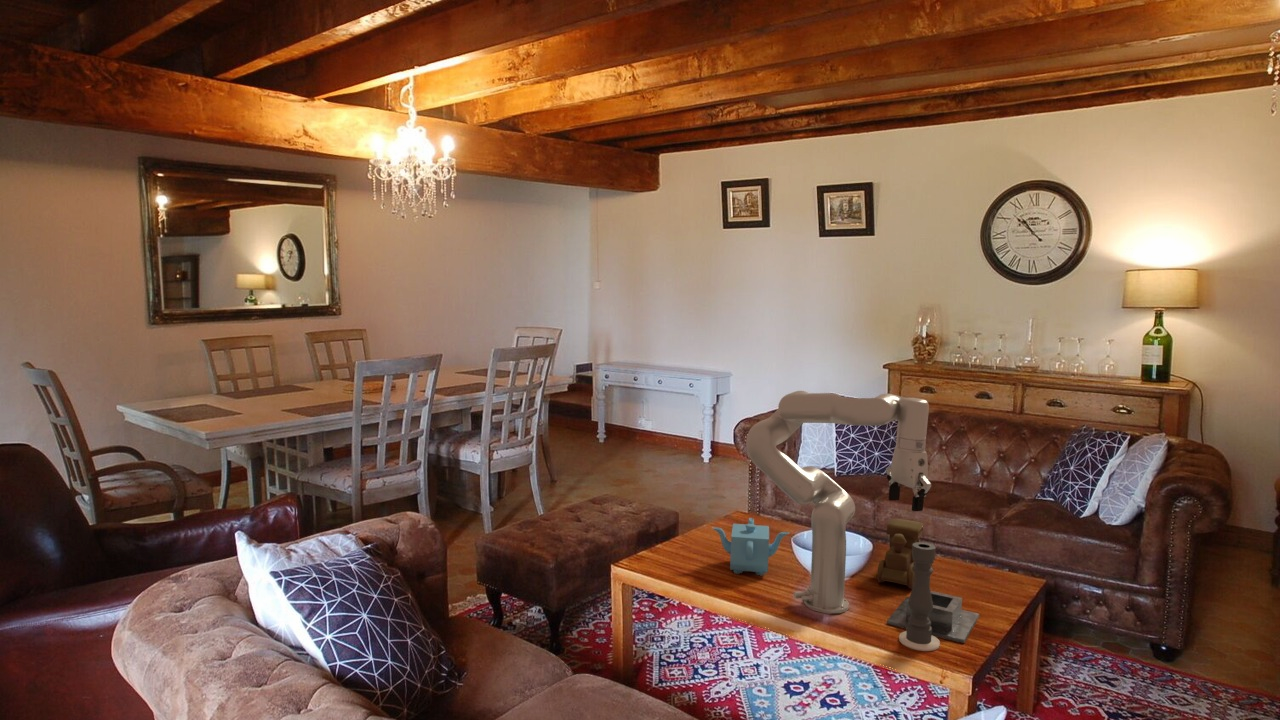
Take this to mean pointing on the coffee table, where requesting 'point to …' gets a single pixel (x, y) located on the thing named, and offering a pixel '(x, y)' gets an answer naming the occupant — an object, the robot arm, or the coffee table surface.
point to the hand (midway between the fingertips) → (905, 505)
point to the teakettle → (749, 547)
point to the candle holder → (921, 594)
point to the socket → (941, 617)
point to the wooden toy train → (900, 552)
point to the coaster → (921, 647)
